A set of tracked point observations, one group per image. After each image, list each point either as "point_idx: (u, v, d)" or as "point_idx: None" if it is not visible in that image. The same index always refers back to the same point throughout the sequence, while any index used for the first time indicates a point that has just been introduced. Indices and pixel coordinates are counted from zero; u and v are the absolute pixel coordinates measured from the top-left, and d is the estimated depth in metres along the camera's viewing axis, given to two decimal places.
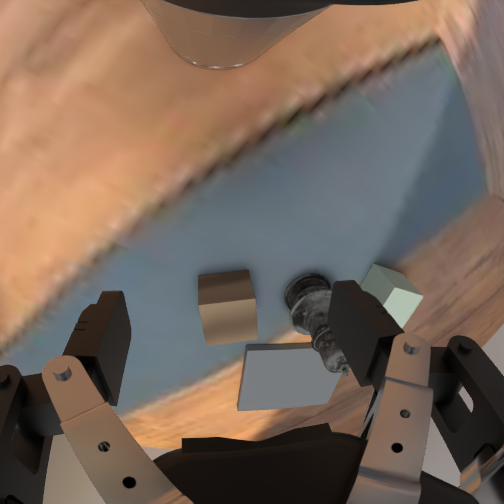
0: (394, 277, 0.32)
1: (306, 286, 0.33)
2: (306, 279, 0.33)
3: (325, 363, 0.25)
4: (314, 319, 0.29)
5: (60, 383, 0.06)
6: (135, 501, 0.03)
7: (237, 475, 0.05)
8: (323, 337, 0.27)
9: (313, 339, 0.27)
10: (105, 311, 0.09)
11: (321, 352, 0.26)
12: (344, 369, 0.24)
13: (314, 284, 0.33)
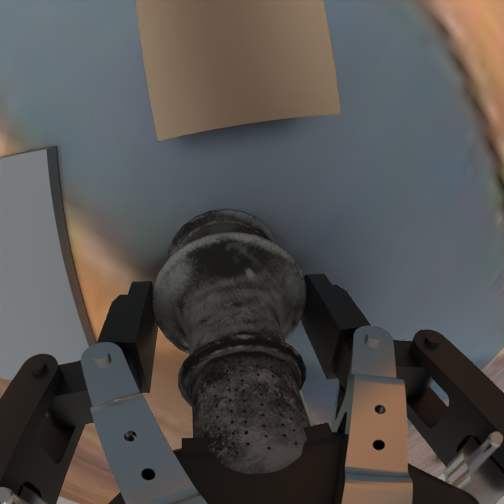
0: None
1: None
2: None
3: (252, 447, 0.05)
4: (264, 310, 0.09)
5: (101, 368, 0.07)
6: (150, 493, 0.04)
7: (237, 475, 0.05)
8: (281, 371, 0.07)
9: (249, 340, 0.07)
10: (138, 300, 0.10)
11: (252, 399, 0.06)
12: None
13: None
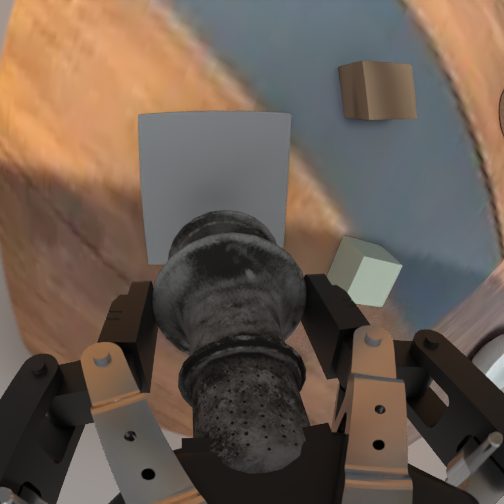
0: None
1: None
2: None
3: (252, 448, 0.05)
4: (264, 311, 0.09)
5: (101, 368, 0.07)
6: (150, 493, 0.04)
7: (237, 475, 0.05)
8: (281, 372, 0.07)
9: (249, 341, 0.07)
10: (138, 300, 0.10)
11: (252, 399, 0.06)
12: None
13: None
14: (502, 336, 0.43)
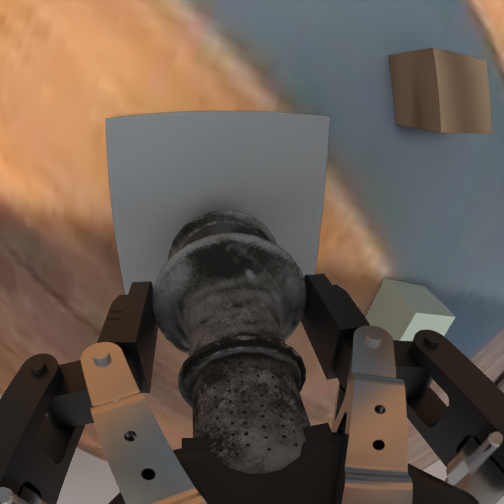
0: None
1: None
2: None
3: (252, 448, 0.05)
4: (264, 311, 0.09)
5: (101, 368, 0.07)
6: (151, 493, 0.04)
7: (237, 475, 0.05)
8: (281, 372, 0.07)
9: (249, 341, 0.07)
10: (138, 300, 0.10)
11: (252, 400, 0.06)
12: None
13: None
14: None
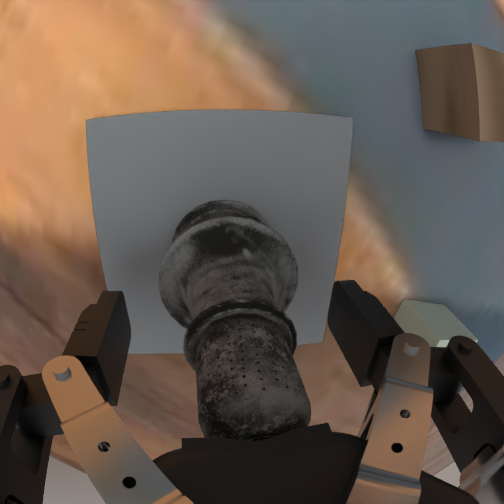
0: None
1: None
2: None
3: (249, 388, 0.06)
4: (259, 283, 0.11)
5: (60, 383, 0.06)
6: (136, 501, 0.03)
7: (237, 475, 0.05)
8: (274, 331, 0.09)
9: (246, 303, 0.09)
10: (105, 311, 0.09)
11: (249, 350, 0.07)
12: None
13: None
14: None
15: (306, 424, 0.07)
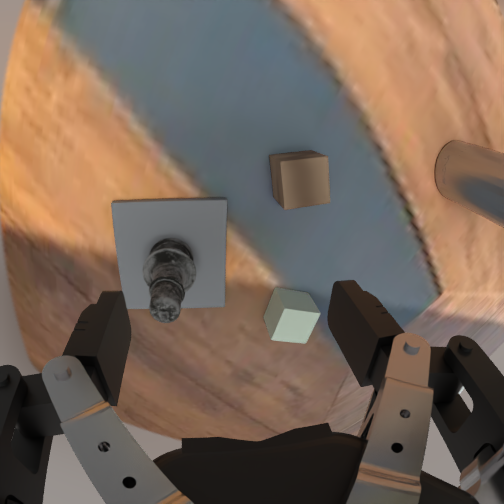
0: None
1: None
2: (189, 253, 0.36)
3: (161, 296, 0.26)
4: (175, 272, 0.31)
5: (60, 383, 0.06)
6: (135, 500, 0.03)
7: (237, 475, 0.05)
8: (174, 286, 0.29)
9: (166, 277, 0.29)
10: (105, 311, 0.09)
11: (164, 289, 0.27)
12: (166, 316, 0.26)
13: None
14: None
15: (177, 310, 0.27)
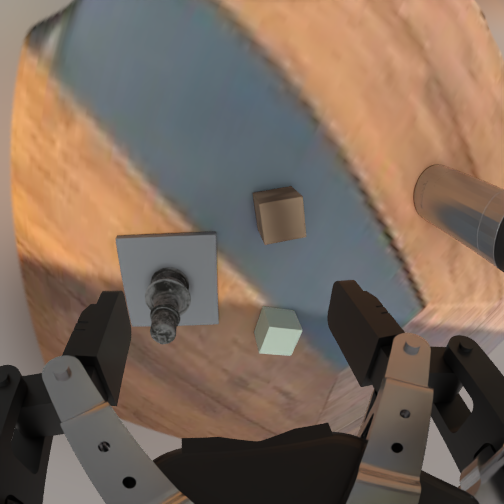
0: None
1: None
2: (184, 280, 0.41)
3: (159, 323, 0.32)
4: (172, 299, 0.36)
5: (60, 383, 0.06)
6: (136, 500, 0.03)
7: (237, 475, 0.05)
8: (170, 312, 0.34)
9: (164, 305, 0.34)
10: (105, 311, 0.09)
11: (161, 316, 0.33)
12: (163, 339, 0.31)
13: None
14: None
15: (172, 334, 0.32)
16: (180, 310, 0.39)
